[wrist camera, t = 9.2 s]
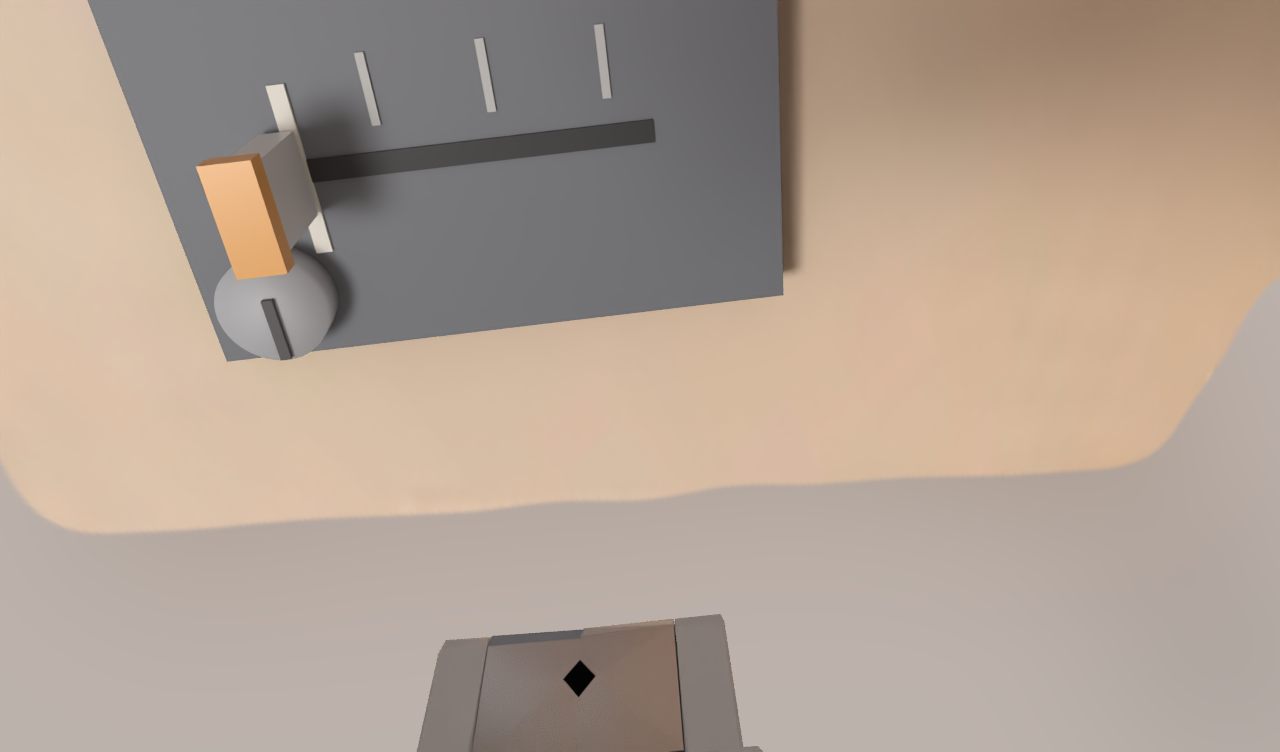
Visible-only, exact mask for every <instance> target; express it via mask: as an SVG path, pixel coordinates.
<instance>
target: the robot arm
mask: <svg viewBox="0 0 1280 752" xmlns="http://www.w3.org/2000/svg"><path fill="white" fill-rule="evenodd" d="M675 630H676V633H675ZM676 640H677V641H676ZM417 752H763V751H762V750H761V749H760V748H759V747H758V746H753V747H743V742H742V736H741V729H740V722H739V716H738V709H737V702H736V696H735V689H734V683H733V677H732V670H731V663H730V656H729V650H728V643H727V637H726V630H725V624H724V620H723V618H722V616H721V615H720V614H718V615H707V616H698V617H689V618H679V619H675V625H674V619H667V620H658V621H649V622H640V623H631V624H622V625H612V626H603V627H593V628H584V629H583V630H571V631H558V632H544V633H529V634H515V635H501V636H492V637H485V638H471V639H457V640H446V641H445V643H444V645H443V646H442V648H441V650H440V652H439V653H438V658H437V662H436V667H435V671H434V676H433V680H432V685H431V689H430V694H429V699H428V704H427V708H426V712H425V717H424V722H423V726H422V731H421V735H420V740H419V744H418V749H417Z"/></svg>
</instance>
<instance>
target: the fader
mask: <svg viewBox="0 0 1280 752" xmlns="http://www.w3.org/2000/svg"><path fill="white" fill-rule="evenodd" d="M196 169H197V172H198V174H199V177H200V180H201V183H202V185H203V188H204V191H205V194H206V197H207V199H208V202H209V205H210V208H211V210H212V213H213V216H214V219H215V221H216V224H217V227H218V230H219V233H220V235H221V238H222V241H223V244H224V246H225V249H226V252H227V255H228V257H229V260H230V263H231V266H232V269H233V271H234V274H235V277H236V280H241V279H249V278H258V277H266V276H275V275H283V274H288V273H289V272H290V270H291V269H292V267H293V266H294V265H295V263H294V260H293V257H292V254H291V251H290V250H291V249H292V248H293V246H294V245H295V244H296V242H297V241H298V240H299V238H300V237H301V236H302V235H303V233H304V232H305V231H306V229H307V228H308V227H309V226H310V224H311V223H312V222H313V220H314V219H315V218H316V217H317V215H318V213H317V209H316V206H315V203H314V199H313V196H312V193H311V189H310V186H309V183H308V179H307V176H306V172H305V169H304V166H303V162H302V159H301V156H300V152H299V149H298V146H297V142H296V139H295V136H294V132H293V131H285V132H277V133H268V134H260V135H257V136H256V137H254V138H253V139H252V140H251V141H249V142H248V143H247V144H246V145H244V146H243V147H242V148H241V149H239V150H238V151H237V152H236V153H234V154H233V155H232V156H228V157H220V158H211V159H205V160H204V161H203V162H201V163H200V164H199V165H197V166H196Z"/></svg>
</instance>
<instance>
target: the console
mask: <svg viewBox="0 0 1280 752" xmlns="http://www.w3.org/2000/svg"><path fill="white" fill-rule="evenodd" d="M88 3H89V5H90V8H91V11H92V13H93V16H94V18H95V21H96V23H97V26H98V29H99V31H100V34H101V36H102V39H103V42H104V44H105V47H106V49H107V52H108V55H109V57H110V60H111V62H112V65H113V67H114V70H115V73H116V75H117V78H118V80H119V83H120V86H121V88H122V91H123V93H124V96H125V99H126V101H127V104H128V106H129V109H130V111H131V114H132V117H133V119H134V122H135V124H136V127H137V130H138V132H139V135H140V137H141V140H142V143H143V145H144V148H145V150H146V153H147V155H148V158H149V161H150V163H151V166H152V168H153V171H154V174H155V176H156V179H157V181H158V184H159V187H160V189H161V192H162V194H163V197H164V199H165V202H166V205H167V207H168V210H169V212H170V215H171V218H172V220H173V223H174V225H175V228H176V231H177V233H178V236H179V238H180V241H181V243H182V246H183V249H184V251H185V254H186V256H187V259H188V262H189V264H190V267H191V269H192V272H193V275H194V277H195V280H196V282H197V285H198V287H199V290H200V293H201V295H202V298H203V300H204V303H205V306H206V308H207V311H208V313H209V316H210V319H211V321H212V324H213V326H214V329H215V331H216V334H217V337H218V339H219V342H220V344H221V347H222V350H223V352H224V355H225V357H226V360H227V361H236V360H244V359H253V358H261V357H263V358H267V359H274V360H289V359H294V358H298V357H301V356H303V355H306V354H308V353H309V352H311V351H319V350H328V349H336V348H344V347H353V346H361V345H370V344H378V343H386V342H395V341H403V340H411V339H420V338H428V337H436V336H445V335H453V334H462V333H470V332H478V331H487V330H495V329H503V328H512V327H520V326H528V325H537V324H545V323H554V322H562V321H570V320H579V319H587V318H595V317H604V316H612V315H620V314H629V313H637V312H646V311H654V310H662V309H671V308H679V307H687V306H696V305H704V304H712V303H721V302H729V301H737V300H746V299H754V298H763V297H771V296H779V295H783V254H782V204H781V154H780V104H779V53H778V3H777V0H88ZM285 131H293V132H294V136H295V139H296V142H297V146H298V149H299V152H300V156H301V159H302V162H303V166H304V169H305V172H306V176H307V179H308V183H309V186H310V189H311V193H312V196H313V199H314V203H315V206H316V209H317V213H318V215H317V217H316V218H315V219H314V220H313V222H312V223H311V224H310V226H309V227H308V228H307V229H306V231H305V232H304V233H303V235H302V236H301V237H300V238H299V240H298V241H297V242H296V244H295V245H294V246H293V248H292V249H291V250H290V251H291V254H292V257H293V260H294V263H295V265H294V266H293V267H292V269H291V270H290V272H289V273H288V274H283V275H275V276H266V277H258V278H249V279H241V280H236V277H235V274H234V271H233V269H232V266H231V263H230V260H229V257H228V255H227V252H226V249H225V246H224V244H223V241H222V238H221V235H220V233H219V230H218V227H217V224H216V221H215V219H214V216H213V213H212V210H211V208H210V205H209V202H208V199H207V197H206V194H205V191H204V188H203V185H202V183H201V180H200V177H199V174H198V172H197V169H196V166H197V165H199V164H200V163H201V162H203V161H204V160H205V159H211V158H220V157H228V156H232V155H233V154H234V153H236V152H237V151H238V150H239V149H241V148H242V147H243V146H244V145H246V144H247V143H248V142H249V141H251V140H252V139H253V138H254V137H256V136H257V135H260V134H268V133H277V132H285Z"/></svg>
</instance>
